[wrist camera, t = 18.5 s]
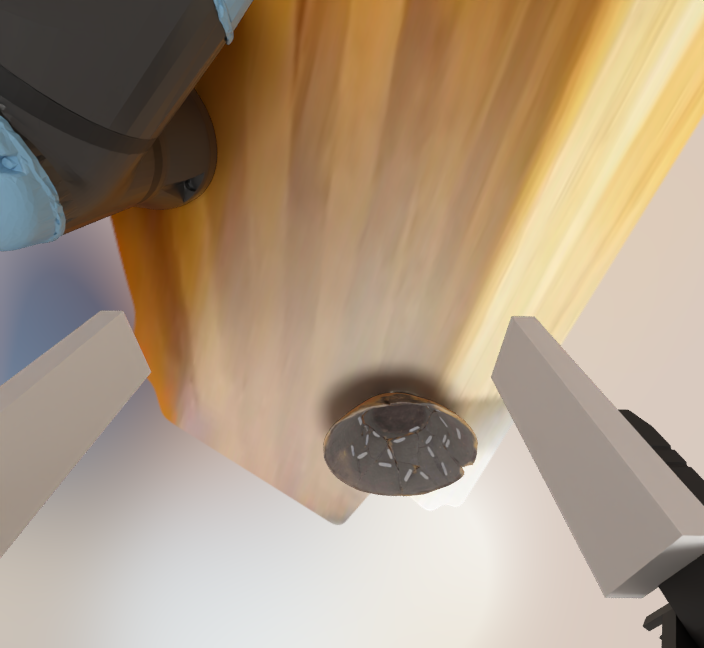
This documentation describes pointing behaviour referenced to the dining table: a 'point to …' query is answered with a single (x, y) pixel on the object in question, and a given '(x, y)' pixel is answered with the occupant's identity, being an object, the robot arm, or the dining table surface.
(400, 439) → the bowl
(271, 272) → the dining table surface
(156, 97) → the robot arm
